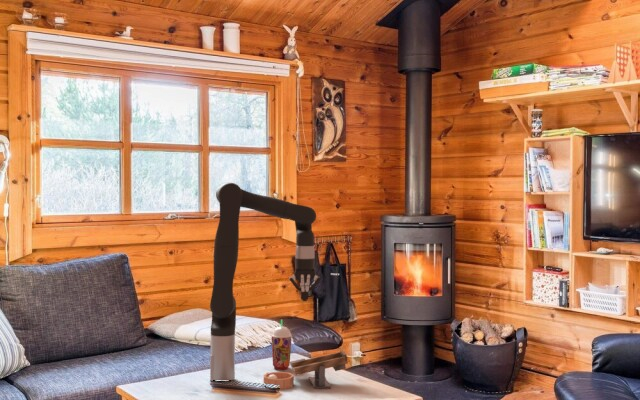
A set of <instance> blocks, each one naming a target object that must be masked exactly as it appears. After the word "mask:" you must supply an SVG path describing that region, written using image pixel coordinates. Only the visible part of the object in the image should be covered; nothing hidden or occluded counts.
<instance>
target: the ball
mask: <svg viewBox="0 0 640 400" xmlns="http://www.w3.org/2000/svg"><path fill="white" fill-rule="evenodd" d="M268 378H272V379H277V376H276V375H274V374H272V375H270V376H269V377H268Z"/></svg>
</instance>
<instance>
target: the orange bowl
mask: <svg viewBox="0 0 640 400" xmlns="http://www.w3.org/2000/svg"><path fill="white" fill-rule="evenodd" d="M272 374H274V375H276V376H277V379H272V378H268V377H269V376H270V375H272ZM294 379H295V376H294V374H293V373H290V372H285V371H272V372H268V373H264V374H263V381H262V382H263V383H265V384H274V385H280V389H279V390H284V389H289V388H292V387H293V386H294V384H295V383H294ZM263 383H262V384H263Z"/></svg>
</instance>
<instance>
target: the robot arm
mask: <svg viewBox="0 0 640 400" xmlns="http://www.w3.org/2000/svg"><path fill="white" fill-rule="evenodd" d="M215 197H216V200H217V202H218V203H219V218H218V219H219V221H218V225H217V229H216V233H215V237H214V241H213V243H214V246H213V285H212V290H211V291H212V293H211V298H210V303H209V307H210V308H209V309H210V312H211V323H210V324H211V326H210V358H209V359H210V366H209V367H210V376H209V377H210V378H209V380H210V382H214V381H213V380H231V381H233V380H235V375H236V372H235V371H236V370H235V367H236V365H235V364H236V363H235V361H236V359H235V358H236V356H235V355H236V352H235V350H236V321H237V318H236V316H237V302H236V297H235V296H234V278H235V274H236V269H237V264H238V259H239V247H240V246H239V244H240V243H239V242H240V241H239V238H240V237H239V236H240V234H239V233H240V230H239V228H240V227H239V225H240V223H239V218H240V213H241V208H246V209H249V210H252V211H257V212H259V213H263V214H266V215H268V216H271V217H275V218H279V219H283V220H289V221H294V225H295V226H294V227H295V231H296V232H295V233H296V238H295V239H296V241H295V242H296V243H295V245H296V247H295V254H294V258H295V267H294V272H293V275H291V276H289V278H288V279H289V281H290V282H291V283H292V285H293V286H294V288H295V289H296V290H297V291H299V292H300V300H302V302H307V301H308V300H309V292H310V291H313V290H314V288H316V286H317V285H318V283H319V282H320V281H321V277H320V276H318V275H317V274H316V273H317V272H316V271H315V255H316V254H315V253H316V252H315V234H314V232H313V229H312V224H313V223H314V222H315V221H316V219H317V213H316V211H315V210H314V209H313V208H312V207H310V206H307V205H301V204H297V203H293V202H289V201H288V200H283V199H279V198H276V197H273V196H272V197H271V196H268V195H261V194H257V193H254V192H252V191H248V190H245V189H243V188H241V187H240V185H238V184H236V183H234V182H224V183H222V184H221V185H219V186H218V187H217V188H216V191H215ZM296 280H297V281H298V282H299V285H300V286H299V285H298V284H297V282H296ZM312 281H313V282H312ZM311 282H312V283H311ZM310 283H311V284H310Z"/></svg>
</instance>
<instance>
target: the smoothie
mask: <svg viewBox="0 0 640 400" xmlns="http://www.w3.org/2000/svg"><path fill="white" fill-rule="evenodd" d="M270 337H271V352H272V367H274V368H273V369H274V370H276V371H285V370H288V369H289V367H290V366H291V365H290V362H291V350H292V349H291V348H292V333H291V331H290V329H289V328H288V327H287V326H283V319H280V325H279V326H277V327H276V328H274V330H273V331H272V333H271V335H270Z"/></svg>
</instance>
